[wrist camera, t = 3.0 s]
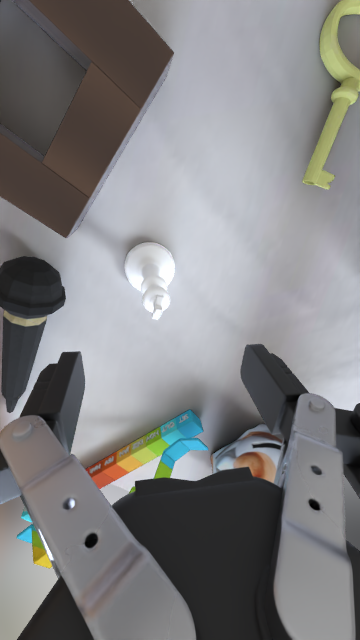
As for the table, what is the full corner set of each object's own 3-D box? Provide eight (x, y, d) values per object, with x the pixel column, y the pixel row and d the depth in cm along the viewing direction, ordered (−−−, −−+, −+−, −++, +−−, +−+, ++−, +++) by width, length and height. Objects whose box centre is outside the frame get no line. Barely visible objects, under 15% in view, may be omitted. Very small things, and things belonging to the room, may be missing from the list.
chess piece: (179, 247, 25) (204, 284, 16) (168, 294, 27) (185, 347, 19) (128, 237, 24) (125, 269, 15) (121, 286, 26) (115, 339, 17)
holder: (-39, -147, 14) (-98, -259, 10) (166, 75, 19) (174, 52, 16) (-111, 106, 17) (-172, 87, 14) (76, 230, 23) (66, 238, 19)
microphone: (36, 389, 34) (67, 253, 24) (36, 429, 30) (74, 287, 20) (-16, 391, 31) (-4, 237, 21) (-23, 437, 27) (-13, 273, 17)
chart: (189, 408, 36) (221, 538, 23) (200, 420, 37) (236, 548, 24) (24, 503, 40) (-29, 659, 27) (40, 510, 42) (-2, 661, 29)
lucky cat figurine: (197, 472, 43) (203, 547, 29) (217, 404, 43) (233, 446, 29) (283, 498, 43) (331, 585, 29) (304, 429, 43) (362, 483, 29)
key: (291, 189, 24) (305, 190, 22) (325, -5, 18) (346, -26, 16) (360, 188, 25) (378, 188, 23) (412, 2, 19) (442, -17, 17)
